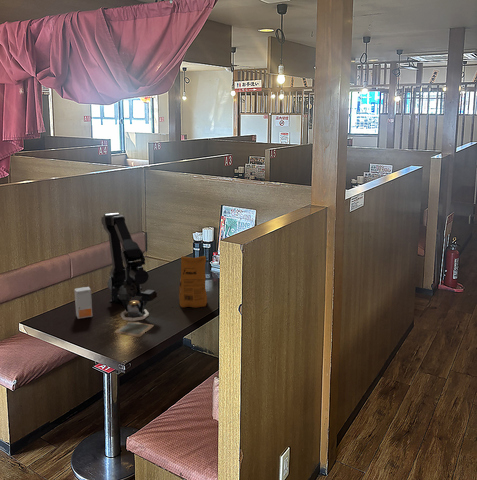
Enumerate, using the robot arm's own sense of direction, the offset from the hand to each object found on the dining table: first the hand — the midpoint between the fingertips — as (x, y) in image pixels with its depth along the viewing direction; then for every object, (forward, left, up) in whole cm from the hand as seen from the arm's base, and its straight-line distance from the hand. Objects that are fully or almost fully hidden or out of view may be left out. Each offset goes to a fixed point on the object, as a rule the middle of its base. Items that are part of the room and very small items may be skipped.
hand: (134, 312), depth 213 cm
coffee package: (+17, +20, -2) cm, 27 cm away
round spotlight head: (0, 0, -1) cm, 1 cm away
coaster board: (+7, -12, -1) cm, 14 cm away
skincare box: (-19, -8, -2) cm, 21 cm away
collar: (0, 0, -1) cm, 1 cm away
